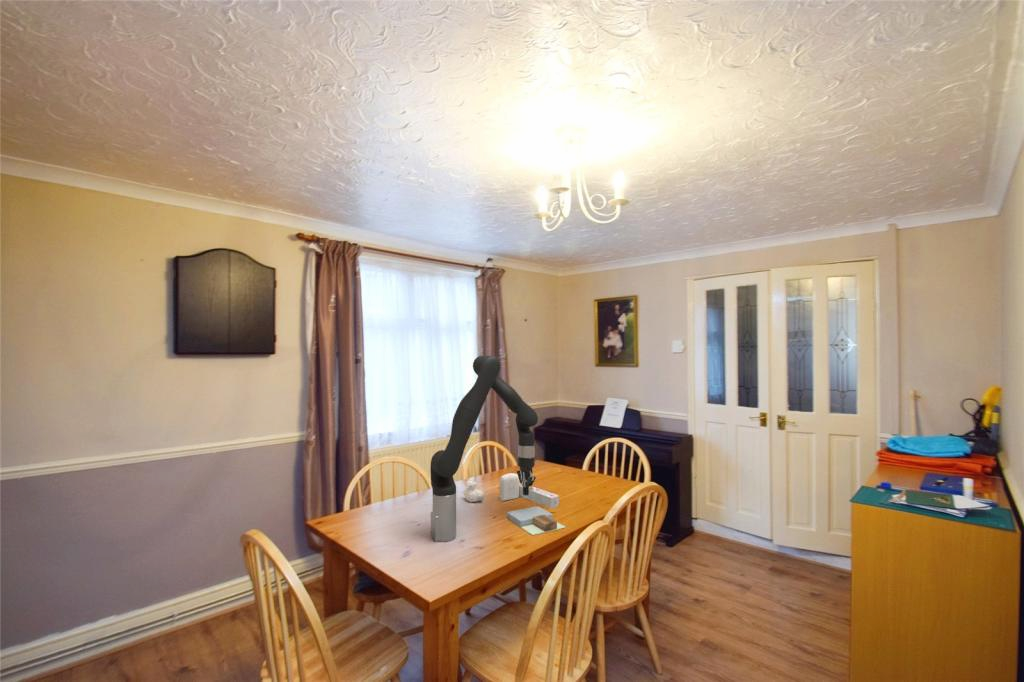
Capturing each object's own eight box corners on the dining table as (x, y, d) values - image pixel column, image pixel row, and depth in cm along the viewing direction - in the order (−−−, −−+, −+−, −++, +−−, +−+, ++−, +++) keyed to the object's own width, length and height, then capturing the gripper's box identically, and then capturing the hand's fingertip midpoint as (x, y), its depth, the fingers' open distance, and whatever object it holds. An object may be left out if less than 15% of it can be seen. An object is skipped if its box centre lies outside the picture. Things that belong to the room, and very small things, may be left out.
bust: (462, 503, 217) (454, 489, 212) (469, 491, 223) (461, 476, 217) (482, 507, 211) (474, 493, 205) (489, 494, 216) (481, 480, 211)
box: (559, 506, 207) (559, 494, 207) (551, 509, 203) (551, 497, 204) (520, 493, 228) (520, 482, 228) (513, 495, 224) (513, 484, 224)
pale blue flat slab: (520, 527, 182) (520, 521, 182) (507, 517, 192) (506, 512, 192) (552, 520, 189) (552, 514, 189) (538, 511, 200) (537, 506, 200)
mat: (532, 535, 173) (532, 534, 173) (521, 527, 181) (521, 526, 181) (565, 527, 181) (565, 527, 181) (553, 520, 189) (553, 519, 189)
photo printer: (515, 495, 222) (515, 471, 223) (520, 498, 219) (520, 473, 219) (498, 499, 217) (498, 474, 217) (502, 502, 213) (502, 476, 213)
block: (544, 531, 176) (544, 524, 176) (532, 524, 184) (532, 517, 184) (556, 528, 179) (556, 521, 179) (544, 521, 187) (544, 514, 187)
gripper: (511, 453, 198) (511, 492, 197) (526, 459, 186) (525, 500, 186) (526, 451, 202) (525, 489, 201) (541, 457, 190) (540, 498, 189)
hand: (525, 494), depth 193 cm, fingers closed
